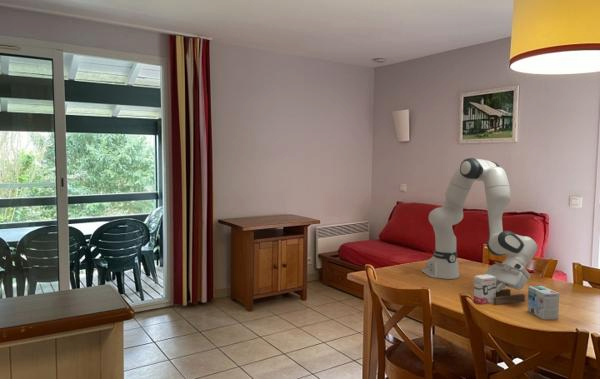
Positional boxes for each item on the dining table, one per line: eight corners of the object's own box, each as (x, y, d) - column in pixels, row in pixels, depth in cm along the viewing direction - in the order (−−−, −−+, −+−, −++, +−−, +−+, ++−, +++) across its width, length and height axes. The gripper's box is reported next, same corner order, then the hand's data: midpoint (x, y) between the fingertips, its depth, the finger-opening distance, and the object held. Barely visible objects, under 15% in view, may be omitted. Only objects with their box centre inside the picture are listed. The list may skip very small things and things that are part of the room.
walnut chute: (480, 298, 198) (480, 292, 198) (507, 294, 203) (507, 288, 203) (496, 305, 188) (496, 298, 188) (524, 301, 193) (524, 294, 193)
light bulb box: (527, 310, 181) (527, 285, 180) (542, 310, 181) (542, 285, 181) (543, 320, 170) (544, 293, 170) (559, 319, 171) (560, 292, 170)
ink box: (481, 304, 189) (481, 278, 189) (473, 301, 194) (473, 275, 193) (496, 302, 192) (496, 276, 192) (487, 299, 197) (488, 273, 196)
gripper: (491, 258, 205) (474, 280, 203) (526, 267, 186) (507, 292, 183) (498, 266, 207) (482, 288, 204) (533, 277, 187) (516, 301, 185)
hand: (494, 290), depth 194 cm, fingers closed, pressing on ink box
